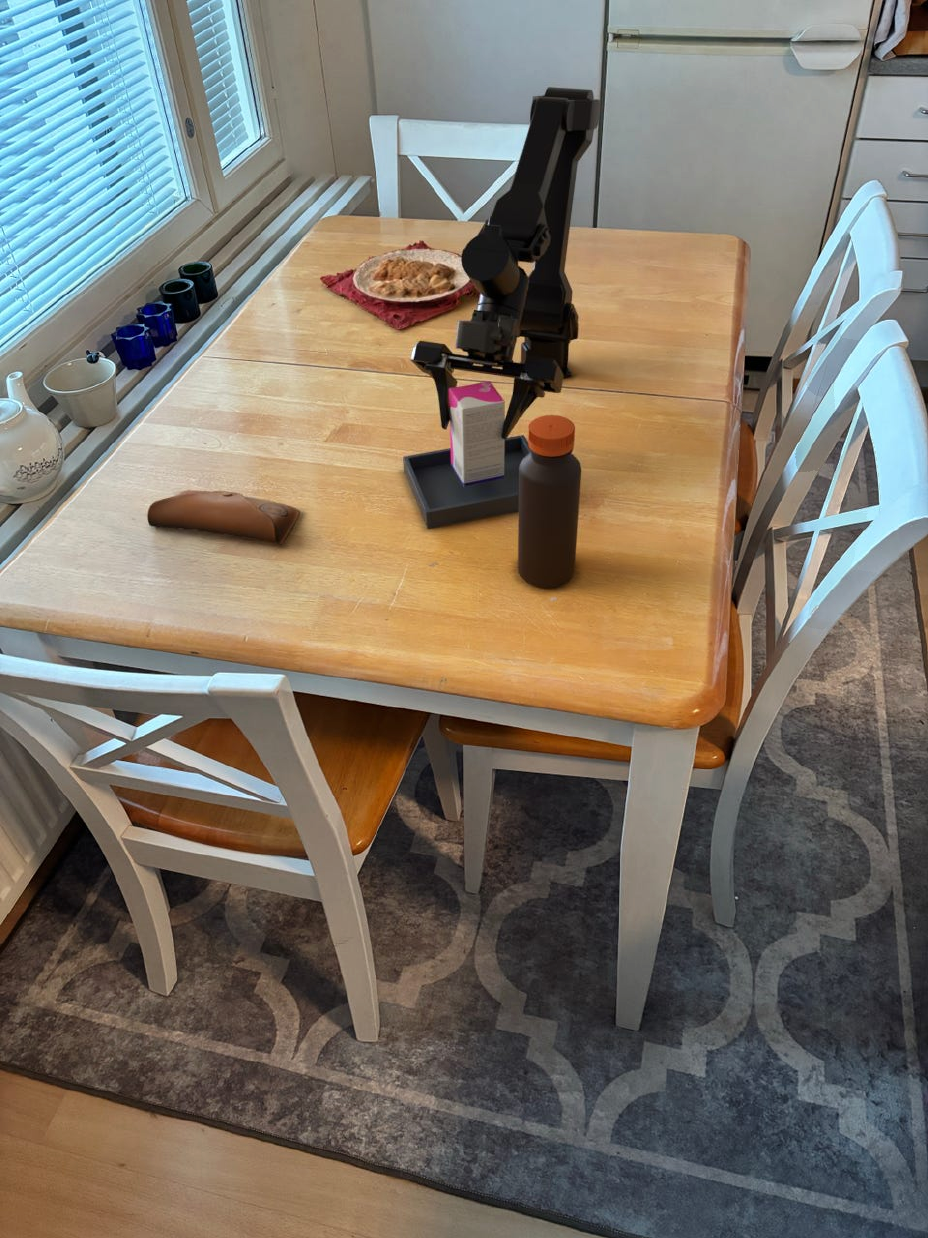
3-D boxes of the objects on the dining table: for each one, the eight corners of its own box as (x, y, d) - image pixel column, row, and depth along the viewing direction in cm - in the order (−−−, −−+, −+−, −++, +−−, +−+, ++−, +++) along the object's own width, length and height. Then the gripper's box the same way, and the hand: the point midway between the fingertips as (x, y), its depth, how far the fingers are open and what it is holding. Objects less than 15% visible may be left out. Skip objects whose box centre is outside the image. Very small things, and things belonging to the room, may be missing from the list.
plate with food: (422, 249, 185) (421, 232, 183) (506, 288, 170) (505, 269, 167) (319, 286, 175) (316, 267, 173) (397, 330, 160) (395, 311, 157)
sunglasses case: (303, 506, 123) (286, 485, 117) (290, 556, 122) (273, 537, 115) (178, 490, 127) (155, 469, 121) (164, 539, 125) (140, 519, 119)
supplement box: (506, 478, 123) (505, 401, 115) (463, 488, 122) (459, 410, 114) (491, 454, 127) (490, 378, 119) (449, 463, 126) (445, 387, 118)
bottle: (581, 584, 111) (592, 438, 98) (526, 594, 110) (529, 448, 97) (565, 549, 116) (573, 405, 102) (511, 558, 115) (512, 414, 102)
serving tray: (523, 450, 132) (523, 434, 131) (555, 504, 123) (556, 487, 121) (404, 472, 129) (402, 456, 128) (427, 529, 120) (426, 512, 118)
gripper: (410, 278, 114) (383, 406, 114) (560, 297, 109) (532, 430, 109) (437, 311, 124) (412, 428, 125) (575, 329, 119) (548, 450, 120)
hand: (473, 433), depth 119 cm, fingers closed on supplement box, 7 cm apart
